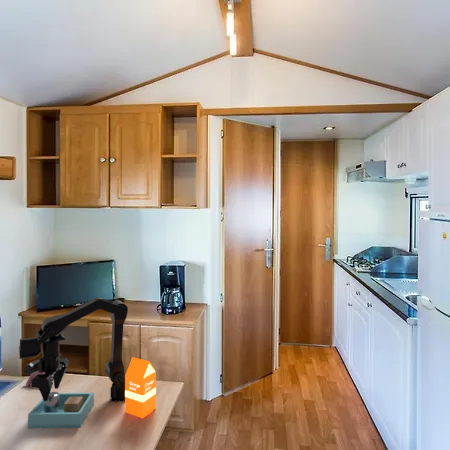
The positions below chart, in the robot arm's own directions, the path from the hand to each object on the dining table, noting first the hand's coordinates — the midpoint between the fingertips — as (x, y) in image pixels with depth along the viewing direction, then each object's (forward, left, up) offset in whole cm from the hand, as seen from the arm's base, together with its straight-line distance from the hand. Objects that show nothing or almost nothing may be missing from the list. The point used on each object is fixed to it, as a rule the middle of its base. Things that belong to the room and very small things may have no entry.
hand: (51, 394), depth 135 cm
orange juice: (-32, -3, -9) cm, 34 cm away
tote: (-4, 0, -8) cm, 9 cm away
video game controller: (+16, -26, -9) cm, 31 cm away
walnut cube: (-8, 0, -7) cm, 11 cm away
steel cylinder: (0, 0, -7) cm, 7 cm away
